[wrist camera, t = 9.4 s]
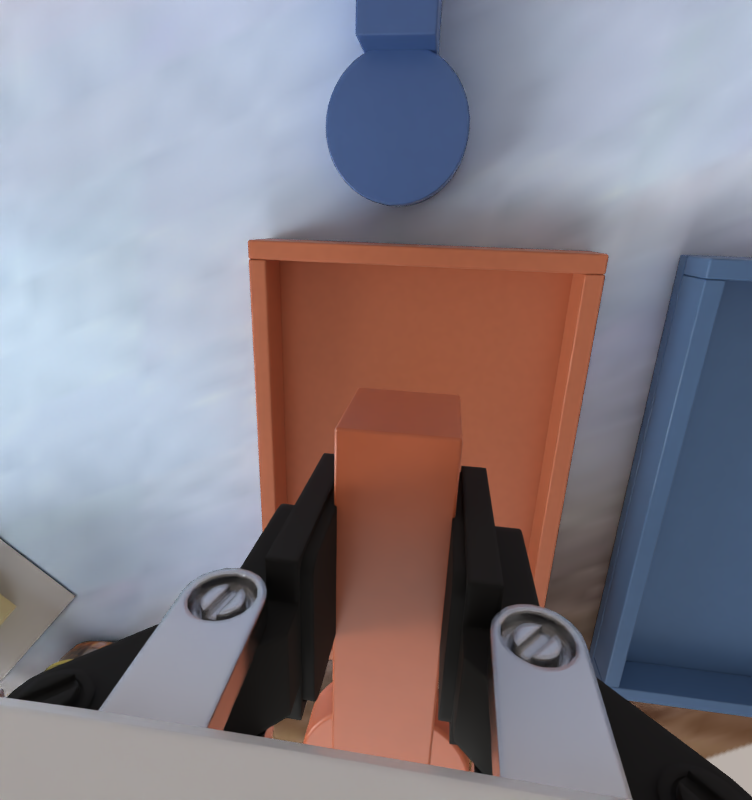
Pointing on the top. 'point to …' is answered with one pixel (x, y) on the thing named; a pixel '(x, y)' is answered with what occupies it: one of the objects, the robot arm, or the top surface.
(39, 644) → the top surface
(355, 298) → the terracotta tray
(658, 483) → the blue tray
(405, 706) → the terracotta spoon
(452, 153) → the blue spoon
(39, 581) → the stacked layers on plate
